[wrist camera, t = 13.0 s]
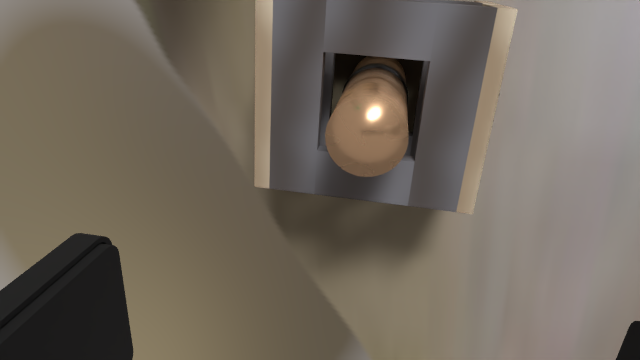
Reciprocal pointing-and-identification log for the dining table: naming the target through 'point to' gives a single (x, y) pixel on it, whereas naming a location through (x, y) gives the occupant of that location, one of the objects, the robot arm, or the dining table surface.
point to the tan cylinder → (370, 119)
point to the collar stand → (392, 42)
